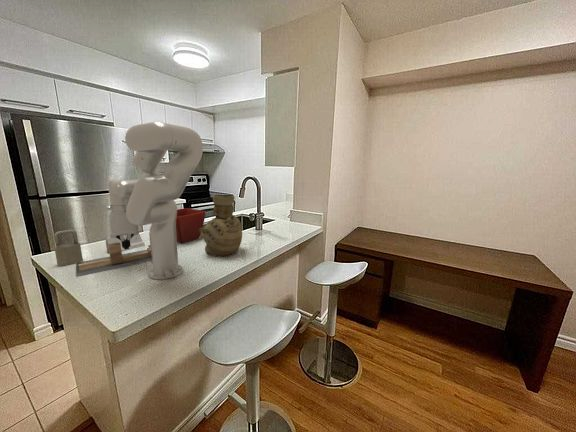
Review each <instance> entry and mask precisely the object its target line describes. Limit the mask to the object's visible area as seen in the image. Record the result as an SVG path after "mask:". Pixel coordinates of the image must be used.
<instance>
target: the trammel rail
mask: <svg viewBox="0 0 576 432" xmlns="http://www.w3.org/2000/svg"><path fill="white" fill-rule="evenodd" d="M146 248H147V249H146V250H147V252H142V253H137V254H131V255H126V256H122V259H123V262H125V261H130V260H135V259H139V258H144V257H151V247H150V244H148V247H146ZM110 264H111V258H110V259H105V260H99V261H94V262H89V263H83V264H79V271H80V270H85V269H90V268H95V267H100V266H105V265H110Z"/></svg>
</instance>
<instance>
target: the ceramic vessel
mask: <svg viewBox="0 0 576 432" xmlns="http://www.w3.org/2000/svg"><path fill="white" fill-rule="evenodd" d="M234 200H235V195H233V194H213V195H212V202H213V205H214V207H213V211H212V216H214V218H212V219H211V220H209V221H208V222H207V223H206V225H205V226H203V227H202V228H200V229H199V232H200V237H199V238H200V239H204V242H205V246H204V247H205V248H204V251H205V253H206V254H208V255H210V256H214V257H218V258H224V257H225V258H226V257H230V256H234V255H235V254H236V253H238V251H239V249H240V247H241V244H242V240H243V227H242V223H241V220H240V219H239V218H238V217H236V216H235V215H234V214H233V213H234V209H235V208H234V205H233V204H234Z"/></svg>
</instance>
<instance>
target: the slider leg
mask: <svg viewBox="0 0 576 432" xmlns="http://www.w3.org/2000/svg"><path fill="white" fill-rule="evenodd" d="M108 246H109V252H108V253H109V257H110V258H111V264H116V263H121V262H123V259H122V254H123V252H122V251H121V244H120V243H112V244H108Z"/></svg>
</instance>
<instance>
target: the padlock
mask: <svg viewBox="0 0 576 432" xmlns="http://www.w3.org/2000/svg"><path fill="white" fill-rule="evenodd" d="M65 234H72V239H73V242H72V243H67V244H61V245H60V235H65ZM53 239H54V242H55V245H57V246H54V247H53V248H54V253H55V259H56V263H57V266H58V267H63V266H68V265H73V264H76V263H77V262H83V261H84V258H83V252H82V246H81V243H80V242H79V239H78V232H77V230H74V229H66V230H61V231H60V230H59V231H56V232H55V233H54V235H53Z"/></svg>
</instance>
